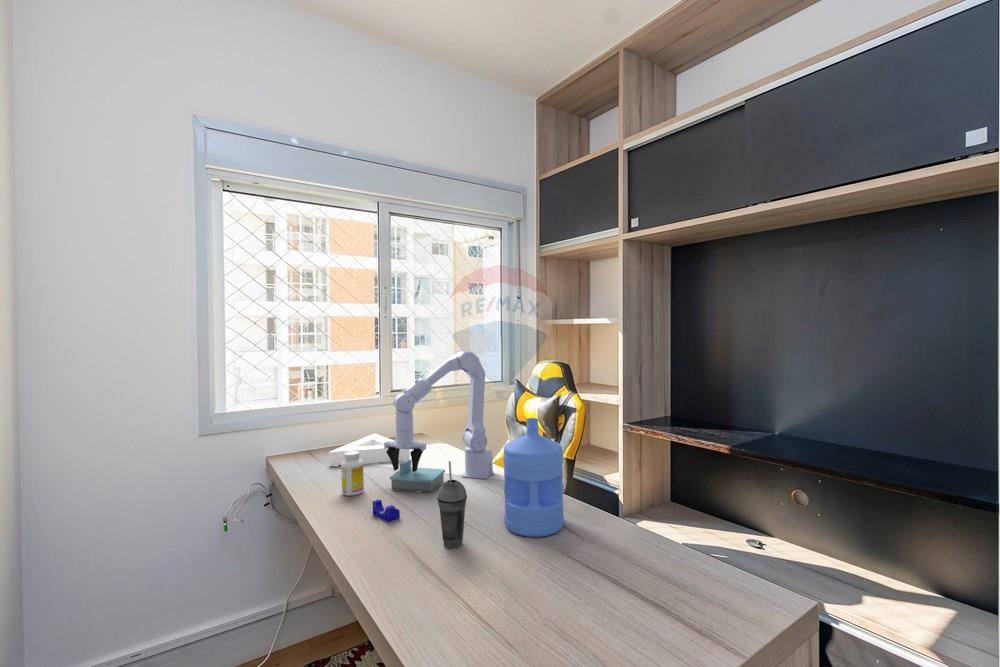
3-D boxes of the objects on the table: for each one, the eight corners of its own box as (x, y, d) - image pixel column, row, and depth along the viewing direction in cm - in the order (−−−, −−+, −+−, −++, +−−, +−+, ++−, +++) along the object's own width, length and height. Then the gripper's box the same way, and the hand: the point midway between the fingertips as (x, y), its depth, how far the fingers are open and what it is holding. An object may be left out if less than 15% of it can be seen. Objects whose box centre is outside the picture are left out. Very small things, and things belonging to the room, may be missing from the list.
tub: (443, 482, 154) (443, 472, 154) (431, 493, 145) (431, 482, 145) (405, 479, 158) (405, 469, 158) (391, 489, 148) (391, 479, 148)
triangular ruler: (329, 468, 174) (329, 451, 174) (339, 450, 199) (338, 435, 199) (409, 462, 180) (409, 446, 180) (409, 445, 205) (408, 431, 205)
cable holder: (399, 519, 126) (399, 504, 126) (389, 523, 124) (388, 508, 124) (383, 511, 132) (383, 497, 132) (372, 515, 129) (372, 501, 129)
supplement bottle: (367, 489, 149) (366, 450, 149) (358, 496, 143) (357, 455, 143) (347, 488, 150) (346, 449, 150) (338, 496, 143) (337, 455, 143)
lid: (445, 474, 154) (444, 459, 154) (431, 485, 144) (431, 469, 144) (405, 471, 158) (404, 456, 158) (389, 482, 148) (389, 466, 148)
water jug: (505, 512, 129) (503, 413, 128) (561, 512, 128) (560, 413, 127) (502, 538, 113) (500, 426, 113) (566, 539, 112) (564, 425, 112)
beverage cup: (444, 554, 106) (442, 469, 105) (433, 541, 112) (432, 460, 112) (473, 547, 109) (471, 464, 109) (461, 534, 116) (459, 456, 115)
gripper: (378, 431, 150) (379, 472, 150) (419, 433, 146) (420, 475, 147) (389, 426, 157) (390, 466, 157) (428, 428, 153) (429, 468, 153)
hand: (405, 470), depth 152 cm, fingers open, 6 cm apart
